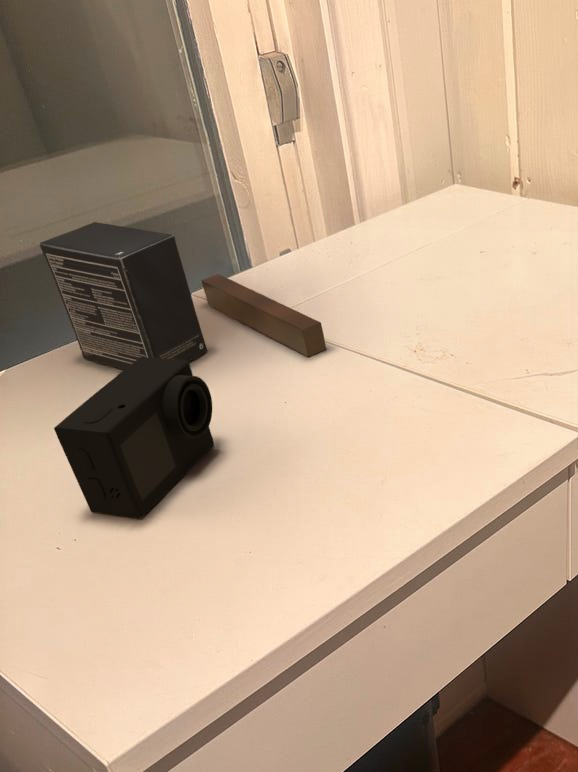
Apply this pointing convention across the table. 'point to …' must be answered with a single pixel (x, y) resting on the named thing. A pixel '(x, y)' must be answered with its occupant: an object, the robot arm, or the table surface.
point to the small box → (125, 294)
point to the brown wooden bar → (265, 315)
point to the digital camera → (138, 435)
